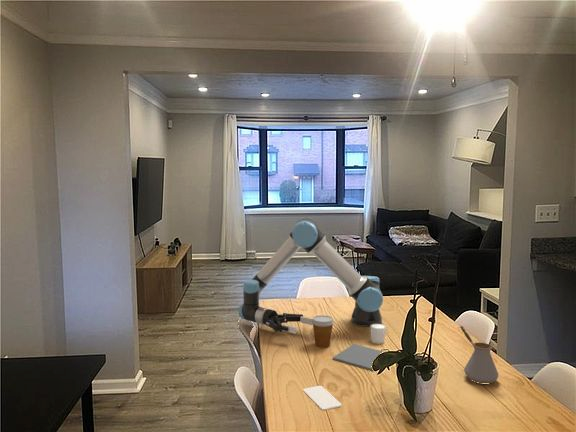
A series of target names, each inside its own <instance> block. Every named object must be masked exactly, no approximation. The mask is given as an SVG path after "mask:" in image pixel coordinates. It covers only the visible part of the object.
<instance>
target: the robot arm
mask: <svg viewBox="0 0 576 432" xmlns="http://www.w3.org/2000/svg"><path fill="white" fill-rule="evenodd" d="M326 238H327V237H326V235H325V233H324V232H322V230H320V229H319V227H318V224H317V223H316V222H315V220H314V219H313V220H312V219H310V218H302V219H300V220H299V221H297V223H295V225H294V226H293V228H292V231H291V232H290V233H289V234H288V238H287V239H286V241H284V243H283V244H282V245H281V246H280V247H279V248H278V249H277V250H276V252H275V253H274V254H273V255H272V256H271V257H270V258H269V260H268V261H267V262H266V263H265V264H264V266H263V267H262V268H261V269H260V270H259V271H258V272H257V273H256V274H255V275H254V276H253V277H252V278H251V279H248V280H244V282H243V285H242V286H243V287H242V289H243V290H242V291H243V294H242V295H243V302H242V304H241V305H240V306H239V309H238V316H239V318H240V319H243V320H245V321H247V322H253V323H257V324H261V325H262V326H263V325H264V326H267V327H270V328H271V329H272V330H274V332H279V333H283V332H287V333H291V334H295V335H296V333H297V328H296V326H293V325H288V324H287V323H288V322H289V323H291V322H295V323H296V322H297V323H298V322H300V323H301V324H306V325H308V326H309V325H310V326H313V323H312V320H313V318H311V317H305V316H304V315H303V314H301V313H300V314H299V313H285V312H283V313H282V314H278V312H277V311H276V310H275V309H270V308H265V307H262V306H260V294H261V292H262V291H263V290H264V289H265V287H267V285H268V284H269V283H270V282H271V281H272V280H273V279H274V278H275V276H276V275H277V274H278V273H280V271H281V269H283V268H284V266H286V264H287V263H288V262H289V261H290V260H291V259H292V258H293V257H294V256H295V255H296V253H297V252H298V251H299V250H300V249H303V250H304V251H306V253H307V254H312V255H314V256H315V258H317V259H318V260H319V261H320V262H321V264H323V266H325V267H326V268H327V269H328V271H330V273H332V275H334V276H335V277H336V278H337V280H339V281H340V282H341V283H342V284H343V285H344V286H345V288H346V289H348V295H349V296H350V297H351V298H352V299H353V300H354V301H355V302H354V303H355V304H354V308H353V311H352V313H351V317H350V318H351V323H353V324H354V325H358V326H361V327H370V325H372V324H382V323H383V317H382V314H381V311H380V308H381V307H382V305H383V302H384V296H383V292H382V291H381V288H380V283H381V282H380V278H379V277H378V276H374V275H373V276H372V275H361V274H360V273H359V272H358V271H357V270H356V269H355V268H354V267H353V266H352V265H351V264H350V263H349V262H348V261H347V260H346V259H345V258H344V257H343V256H342V255H341V254H340V253H339V252H338V251H337V250H336V249H335V248H334V247H333V246H332V245H331V244H330V243H329V242H328V241H327V239H326Z"/></svg>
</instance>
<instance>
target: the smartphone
mask: <svg viewBox="0 0 576 432" xmlns="http://www.w3.org/2000/svg"><path fill="white" fill-rule="evenodd" d="M303 392H304V393H305V395H307V396H308V397H309V398H310V400H311V401H312V402H313V403H314V404H315V405H316V406H317V407H318V408H319V409H320V410H322V411H327V410H331V409H336V408H341V407H342V403H341V402H340V401H339V400H338V399H337V398H335V396H333V395H332V394H331V393H330V392H329V391H328V390H327V389H326V388H324V386H323V385H316V386H310V387H307V388H306V387H305V388H303Z"/></svg>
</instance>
